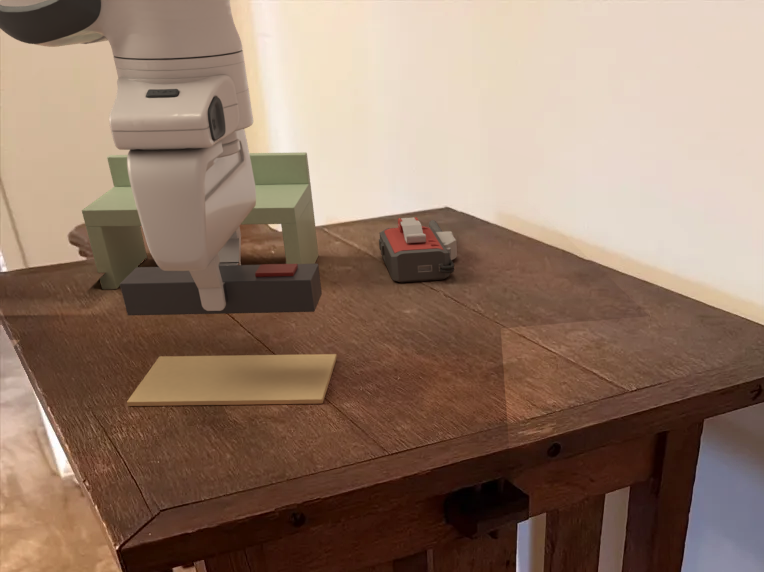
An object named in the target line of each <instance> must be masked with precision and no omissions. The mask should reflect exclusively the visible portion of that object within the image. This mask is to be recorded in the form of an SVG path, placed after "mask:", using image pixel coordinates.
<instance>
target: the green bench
mask: <svg viewBox="0 0 764 572" xmlns="http://www.w3.org/2000/svg"><path fill="white" fill-rule="evenodd" d="M249 154H250V159H251V165H252V170H253V176H254V181H255V188H256V205H255V207H254V208H253V209H252V211H251V212H250V213H249V214H248V216H247V217H246V218H245V220H244V221H243V222H242V223H241V225H243V226H244V225H281V233H282V241H283V249H284V256H285V264H316V262H317V260H318V258H319V245H318V236H317V228H316V219H315V211H314V202H313V194H312V183H311V176H310V168H309V160H308V153H307V152H306V151H305V152H303V151H301V152H249ZM127 156H128V154H110V155H108V156H107V158H106V160H107V163H108V167H109V171H110V176H111V181H112V184H113V187H112V188H110V189H109V190H108V191H106V192H105V193H103V194H102V195H101V196H99V197H97V198H96V199H95V200H94V201H92V202H91V203H89V204H88V205H87V206H86V207H84V208H83V209H81V214H82V217H83V221H84V222H83V223H84V226H85V229H86V233H87V236H88V240H89V243H90V244H89V245H90V248H91V251H92V255H93V256H92V257H93V259H94V263H95V267H96V271H97V273H99V274H103V275H102V276H100V277H99V282H100V283H99V284H100V286H101V289H102V290H117V289H118V288H119V287H120V283H121V282H122V281H123V280H124V279H125V278H126V277H127V276H128V275H129V274H130V273H131V272H132V271H133V270H134V269H135V268H136V267H138V265H139V264H140V263H141V262H142V261H143V260H144V259H145V258H146V259H147V258H148V255H147V254H148V253H147V250H146V246H145V241H144V237H143V232H142V225H141V222H140V218H139V215H138V211H137V207H136V204H135V200H134V196H133V192H132V188H131V184H130V180H129V175H128V168H127ZM241 225H240V226H241ZM146 259H145V260H146Z"/></svg>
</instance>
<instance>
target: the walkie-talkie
mask: <svg viewBox="0 0 764 572" xmlns="http://www.w3.org/2000/svg"><path fill="white" fill-rule="evenodd" d="M457 245H458V241H457V239H456V237H454V233H453V232H452V231H451V230H447V231H443V229H441V227H440V226H439V223H437V220H434V219H431V220H429V222H428V226H426V225H422V223H421V221H419V218H418V217H417V216H416V217H414V216H413V217H399V218H397V227H388V228H386V229H384V230H382V231H380V232H379V239H378V248H379V251H380V255H381V258H382V260H383V262H384V264H385V266H386V269H387V270H388V273H389V276H390V278H391V280H392V281H394V282H398V283H413V282H414V283H415V282H427V281H429V282H430V281H440V280H445V279H447V278H448V277H450V275H451V274H453V273H454V272H455V264H454V262H453V260H455V259H456V258H457V257H458V246H457Z"/></svg>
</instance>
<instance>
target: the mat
mask: <svg viewBox="0 0 764 572" xmlns="http://www.w3.org/2000/svg"><path fill="white" fill-rule="evenodd" d="M337 355H338V354H337V353H325V354H324V353H323V354H322V353H319V354H318V353H317V354H313V353H312V354H311V353H310V354H248V355H247V354H246V355H245V354H243V355H242V354H241V355H235V354H234V355H233V354H232V355H173V356H170V355H167V356H166V355H163V356H158V358H157V359H156V360H155V362H154V363H153V365H152V366H151V368H150V369H149V371H148V372H147V373H146V375H145V376H144V377H143V379H142V380H141V381H140V383H139V384H138V385H137V387H136V388H135V390H134V391H133V393H132V394H131V395H130V397H129V398H128V400H127V401H126V404H127V407H168V406H175V407H176V406H178V407H179V406H227V405H228V406H237V405H238V406H239V405H240V406H241V405H242V406H244V405H246V406H247V405H249V406H250V405H312V404H313V405H314V404H315V405H316V404H317V405H319V404H321V405H323V404H324V401H325V397H326V394H327V391H328V387H329V384H330V382H331V378H332V375H333V372H334V368H335V366H336V362H337V359H338V356H337Z"/></svg>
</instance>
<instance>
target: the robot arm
mask: <svg viewBox="0 0 764 572" xmlns="http://www.w3.org/2000/svg"><path fill="white" fill-rule="evenodd" d="M0 30H1V31H2V32H4V33H5V34H6V35H8V36H9V37H11V38H13V39H14V40H17V41H18V42H22V43H23V44H27V45H28V44H29V45H35V46H42V47H48V48H57V47H64V46H71V45H72V46H73V45H79V44H80V45H87V44H94V43H101V42H106V41H107V42H108V43H109V45H110V47H111V53H112V55H113V60H114V67H115V70H116V74H117V80H116V87H117V89H116V95H115V99H114V101H113V105H112V107H111V109H110V111H109V115H108V124H109V129H110V133H111V137H112V140H113V144H114V147H116V148H117V149H118V150H120V151H128V153H127V155H128V156H127V168H128V175H129V180H130V184H131V188H132V192H133V196H134V200H135V204H136V207H137V211H138V215H139V218H140V222H141V225H142V226H141V229H142V231H143V232H142V233H143V235H144V239H145V242H146V245H147V248H148V251H149V253H150V255H151V257H152V259H153V260H154V262H155V264H156V265H157V267H159V268H160V269H162V270H164V271H189V272H190V274H191V276H192V278H193V280H194V281H195V283H196V285H197V287H198V289H199V294H200V299H201V303H202V307H203V308H204V309H205V310H207V311H221V310H223V309H224V308H225V306H226V304H227V302H228V295H227V290H226V284H225V282H222V278H221V274H220V270H219V267H218V266H225V265H242V262H241V260H242V259H241V258H242V257H241V255H242V233H241V227H240V226H241V223H242V222H243V221H244V220H245V218H246V217H247V216H248V214H249V213H250V212H251V211H252V209H253V208H254V207H255V205H256V188H255V181H254V176H253V170H252V165H251V159H250V154H249V153H250V149H249V145H248V139H247V135H246V129H248V128H251V126H252V125H253V124H254V116H253V108H252V103H251V96H250V89H249V83H248V78H247V77H248V75H247V71H246V64H245V55H244V50H243V49H244V48H243V45H242V40H241V38H240V34H239V33H238V29H237V27H236V25H235V21H234V17H233V14H232V7H231V0H0Z"/></svg>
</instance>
